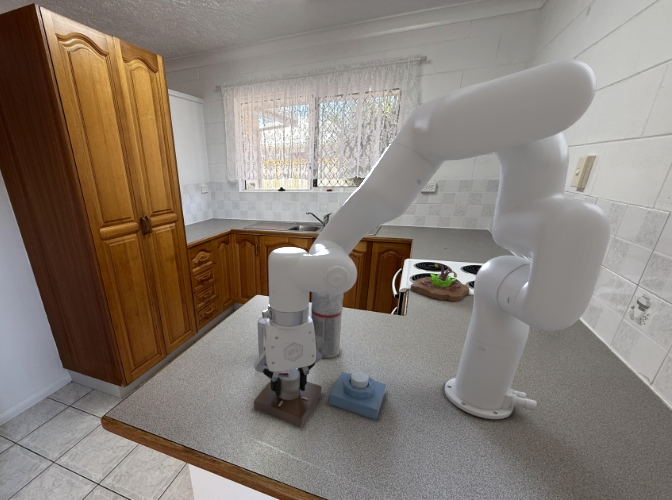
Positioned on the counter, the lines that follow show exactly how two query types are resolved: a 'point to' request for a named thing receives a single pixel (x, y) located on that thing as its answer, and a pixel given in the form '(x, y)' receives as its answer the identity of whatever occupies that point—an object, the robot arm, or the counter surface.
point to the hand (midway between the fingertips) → (288, 388)
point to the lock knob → (289, 384)
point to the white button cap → (359, 380)
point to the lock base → (288, 404)
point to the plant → (441, 286)
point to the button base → (358, 396)
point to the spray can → (327, 322)
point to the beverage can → (261, 333)
